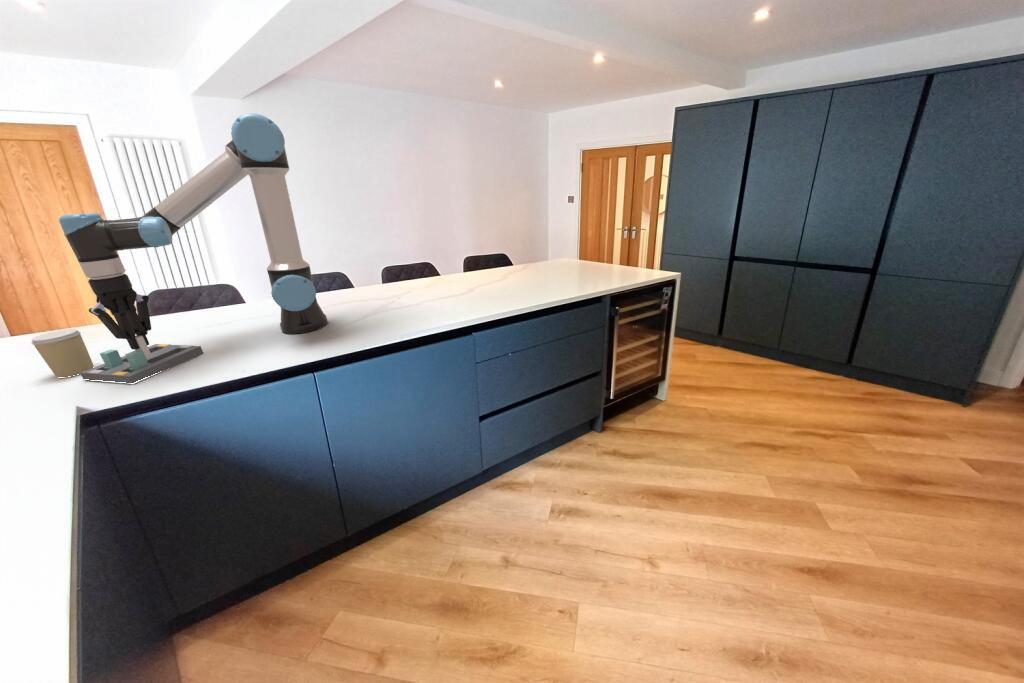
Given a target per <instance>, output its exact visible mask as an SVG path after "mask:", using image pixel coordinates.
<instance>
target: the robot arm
mask: <svg viewBox="0 0 1024 683" xmlns="http://www.w3.org/2000/svg"><path fill="white" fill-rule="evenodd" d="M230 133H231V134H230V136H231V140H230V141H229V142H228V143H227V144H225V146H224V147H225V148H224V152H223V153H221V154H220V155H219V156H218V157H217V158H215V159H214V160H212V161H211V162H210V163H208V164H207V165H206V166H205V167H204V168H202V169H201V170H200V171H199V172H198V173H196V174H194V176H192V177H191V178H190V179H188V180H187V181H186V182H185V183H183V184H182V185H181V186H180V187H178V188H177V189H176V190H174V191H173V192H172V193H170V194H169V195H168V196H167V197H165V198H164V199H162V200H161V201H160V202H159V203H158V204H157V205H155V206H154V207H153V208H151V209H150V210H149V211H147V212H146V213H145V214H143V215H142V216H139V217H132V218H124V219H123V218H121V219H104V218H102V216H101V215H100V214H99V213H98V212H89V213H88V212H86V213H75V214H73V213H72V214H63V215H60V216H59V219H58V222H59V224H60V227H61V229H62V232H63V235H64V237H65V238H66V240H67V242H68V244H69V246H70V248H71V250H72V252H73V253H74V255H75V257H76V259H77V261H78V264H79V265H80V267H81V270H82V272H83V274H84V275H85V277H86V278H88V281H87V282H88V284H89V286H90V288H91V291H92V292H93V294H94V295H95V296H96V305H95V306H94V307H91V308H88V312H89V313H90V314H93V315H94V316H96V317H97V318H98V319H99V320H100V321H101V323H102V324H103V325H104V326H105V327H106V328H107V329H108V330H109V332H110V334H112V336H113V337H115V339H119V340H120V339H121V340H126V342H127V343H128V346H129V347H130V349H131V350H133V351H135V350H136V351H143V353H144V355H145V357H146V359H149V358H151V357H152V355H151V353H150V351H149V349H148V347H149V346H150V342H149V339H148V337H147V335H148V332H149V331H151V330H152V323H151V319H150V318H151V317H150V311H149V306H148V305H149V304H148V302H149V299H150V297H149V295H146V294H145V295H144V294H143V295H142V294H138V293H137V291H136V290H134V288H133V284H132V282H131V280H130V278H129V276H128V274H125V273H126V269H125V266H124V265H123V264H124V263H123V262H122V260H121V258H120V256H119V253H118V251H125V250H127V251H128V250H137V249H138V250H139V249H147V248H160V247H165V246H169V245H172V243H173V235H175V234H176V233H177V232H178V231H180V230H181V229H182V228H183V227H184V226H185V225H187V224H188V223H189V222H190V221H192V220H193V219H194V218H196V217H197V216H198V215H199V214H201V213H202V212H203V211H204V210H206V209H207V208H208V207H209V206H211V205H212V204H213V203H214V202H216V201H217V200H218V199H219V198H221V197H222V196H224V194H226V193H227V192H228V191H229V190H230V189H232V188H233V187H234V186H235V185H237V184H238V183H239V182H240V181H243V179H245V178H246V177H247V176H248V177H249V178H250V182H251V185H252V186H251V187H252V190H253V195H254V197H255V202H256V206H257V211H258V215H259V217H260V222H261V226H262V230H263V234H264V239H265V243H266V247H267V251H268V254H269V255H268V256H269V259H270V260H269V261H270V264H268V265H267V267H266V271H267V275H268V279H269V283H270V288H271V291H270V292H271V297H272V300H273V301H274V302H275V303H276V304H277V305H278V306H279V307H280V323H279V326H280V330H281V332H282V333H283V334H288V335H289V334H290V335H295V334H304V333H309V332H312V331H313V332H314V331H316V330H319V329H321V328H323V327H325V326H326V325H327V324H328V317H327V315H326V314H325V313H324V312H323V310H322V308H321V306H320V304H319V303H318V300H317V296H316V295H317V289H316V286H315V285H314V280H313V275H312V272H311V266H310V264H309V263H308V262H307V261H305V260H304V259H303V254H302V250H301V245H300V240H299V235H298V232H297V231H298V230H297V227H296V222H295V217H294V213H293V207H292V203H291V199H290V194H289V189H288V185H287V180H286V175H287V174H288V172H289V171H290V166H289V161H288V156H287V152H286V148H285V144H286V142H285V137H284V134H283V132H282V130H281V129H280V127H279V126H278V125H277V124H276V123H275V122H274V121H273V120H271V119H270V118H268V117H267V116H265V115H263V114H259V113H255V112H254V113H253V112H249V113H245V114H242V115H241V114H240V116H238V117H237V118H236V119H235V120H234V121H233V123H232V126H231V132H230ZM106 309H107V310H108V311H109V312H110V313H111V315H112V316H113V317H114V318H112V316H111V315H110V314H109V313H108V312H107V310H106Z"/></svg>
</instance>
